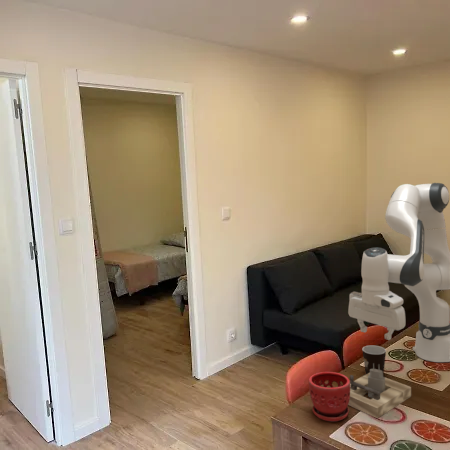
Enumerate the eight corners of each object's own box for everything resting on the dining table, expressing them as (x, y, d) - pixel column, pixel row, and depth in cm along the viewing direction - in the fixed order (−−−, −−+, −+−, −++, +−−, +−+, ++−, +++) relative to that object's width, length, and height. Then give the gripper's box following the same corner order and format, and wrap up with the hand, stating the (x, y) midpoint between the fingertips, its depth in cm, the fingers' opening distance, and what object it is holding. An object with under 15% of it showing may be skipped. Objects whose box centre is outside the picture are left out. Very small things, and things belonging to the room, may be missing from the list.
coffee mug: (387, 380, 168) (387, 354, 167) (363, 379, 170) (363, 354, 168) (383, 366, 179) (383, 342, 178) (361, 365, 181) (360, 342, 180)
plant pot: (359, 413, 147) (358, 378, 145) (333, 429, 138) (332, 393, 137) (326, 399, 157) (325, 366, 155) (301, 413, 149) (300, 379, 147)
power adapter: (370, 392, 159) (369, 360, 158) (385, 396, 156) (385, 363, 155) (367, 396, 157) (367, 364, 155) (383, 400, 154) (383, 367, 152)
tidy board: (370, 380, 168) (370, 360, 167) (410, 396, 155) (410, 374, 154) (336, 399, 156) (336, 377, 155) (377, 418, 143) (377, 394, 142)
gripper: (344, 292, 158) (344, 329, 160) (397, 304, 142) (397, 346, 144) (355, 288, 162) (355, 325, 164) (408, 300, 146) (408, 340, 148)
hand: (375, 335), depth 154 cm, fingers open, 8 cm apart
